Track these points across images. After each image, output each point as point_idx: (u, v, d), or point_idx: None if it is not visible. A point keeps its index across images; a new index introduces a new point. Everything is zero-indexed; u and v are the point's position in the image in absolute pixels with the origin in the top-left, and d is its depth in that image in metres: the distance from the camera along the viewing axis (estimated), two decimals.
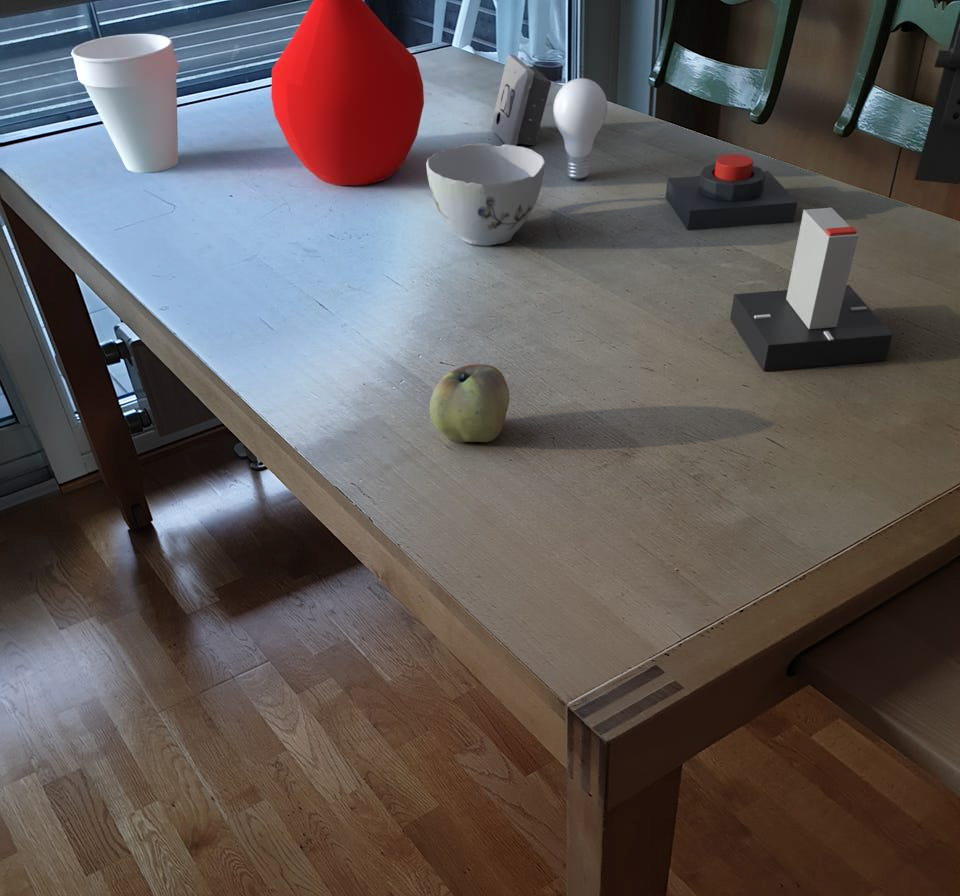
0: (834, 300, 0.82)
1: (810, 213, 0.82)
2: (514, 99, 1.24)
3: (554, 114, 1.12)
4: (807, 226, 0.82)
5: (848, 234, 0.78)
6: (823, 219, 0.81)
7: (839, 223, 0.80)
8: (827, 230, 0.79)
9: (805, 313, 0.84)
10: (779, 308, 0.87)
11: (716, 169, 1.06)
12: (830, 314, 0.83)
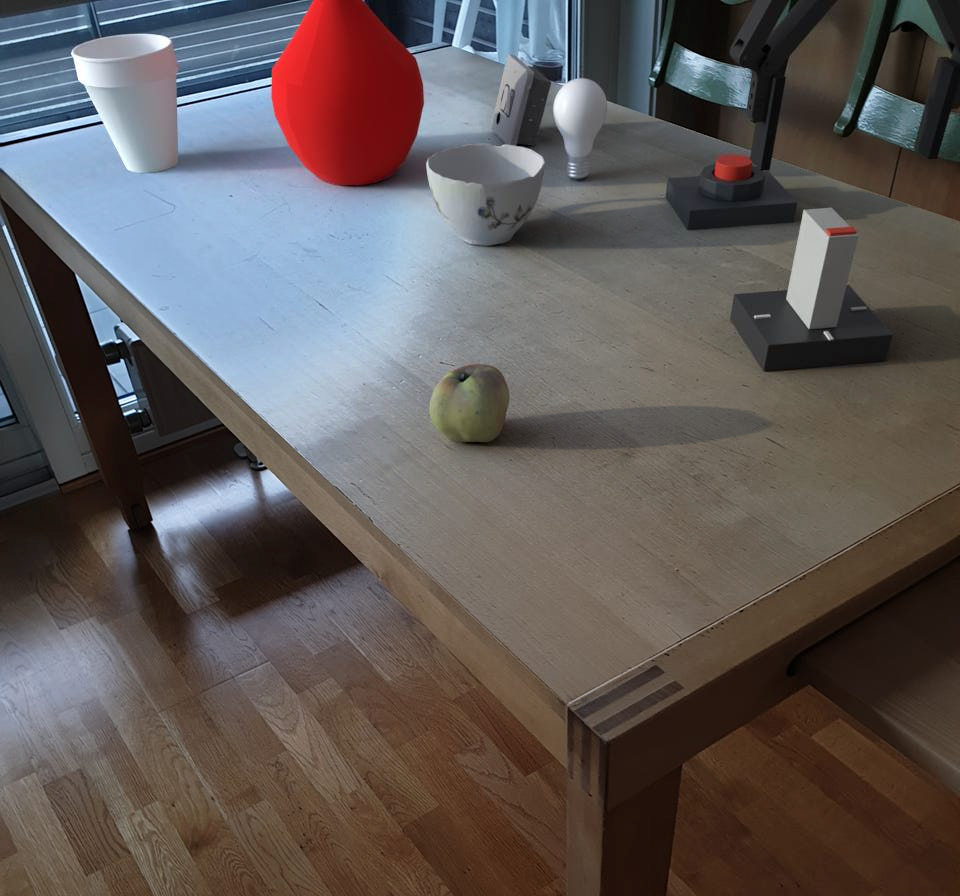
0: (834, 300, 0.82)
1: (810, 213, 0.82)
2: (514, 99, 1.24)
3: (554, 114, 1.12)
4: (807, 226, 0.82)
5: (848, 234, 0.78)
6: (823, 219, 0.81)
7: (839, 223, 0.80)
8: (827, 230, 0.79)
9: (805, 313, 0.84)
10: (779, 308, 0.87)
11: (716, 169, 1.06)
12: (830, 314, 0.83)
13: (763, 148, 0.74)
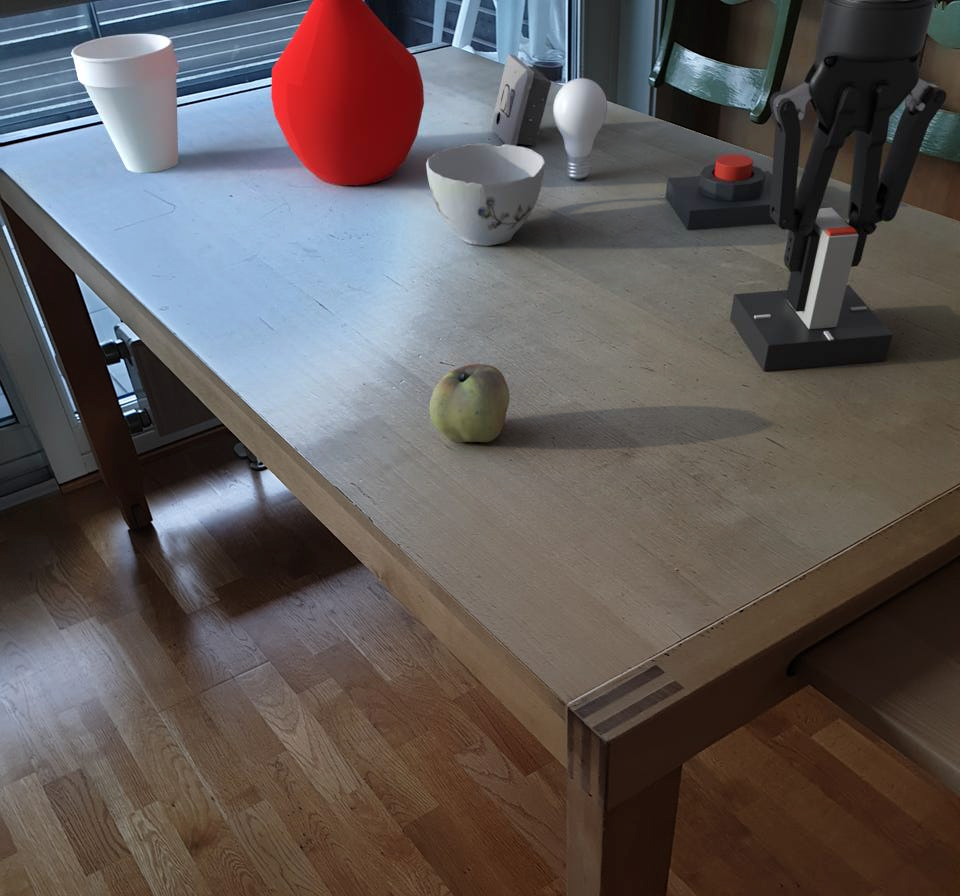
0: (834, 300, 0.82)
1: None
2: (514, 99, 1.24)
3: (554, 114, 1.12)
4: None
5: (848, 234, 0.78)
6: (823, 219, 0.81)
7: (839, 223, 0.80)
8: (827, 230, 0.79)
9: (805, 313, 0.84)
10: (779, 308, 0.87)
11: (716, 169, 1.06)
12: (830, 314, 0.83)
13: (798, 293, 0.83)
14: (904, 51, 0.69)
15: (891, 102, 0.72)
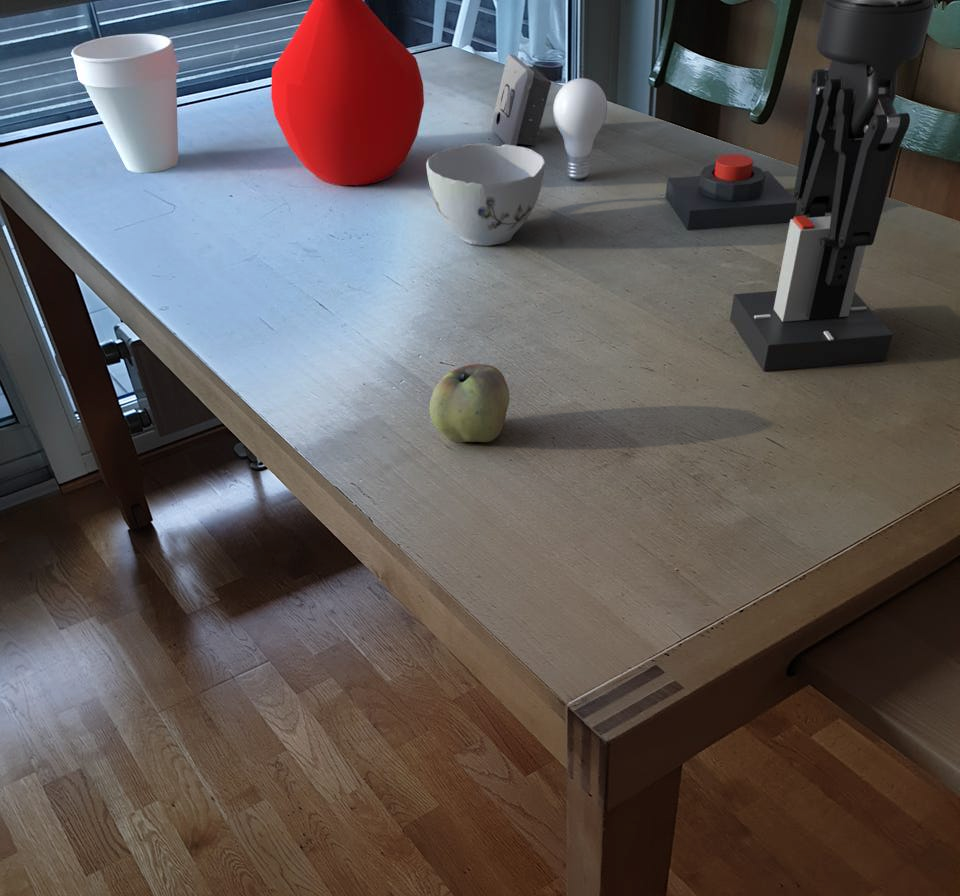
0: (784, 290, 0.84)
1: None
2: (514, 99, 1.24)
3: (554, 114, 1.12)
4: None
5: (800, 226, 0.80)
6: None
7: (827, 224, 0.80)
8: (801, 216, 0.81)
9: None
10: None
11: (716, 169, 1.06)
12: (781, 304, 0.85)
13: None
14: (827, 50, 0.70)
15: (842, 108, 0.72)
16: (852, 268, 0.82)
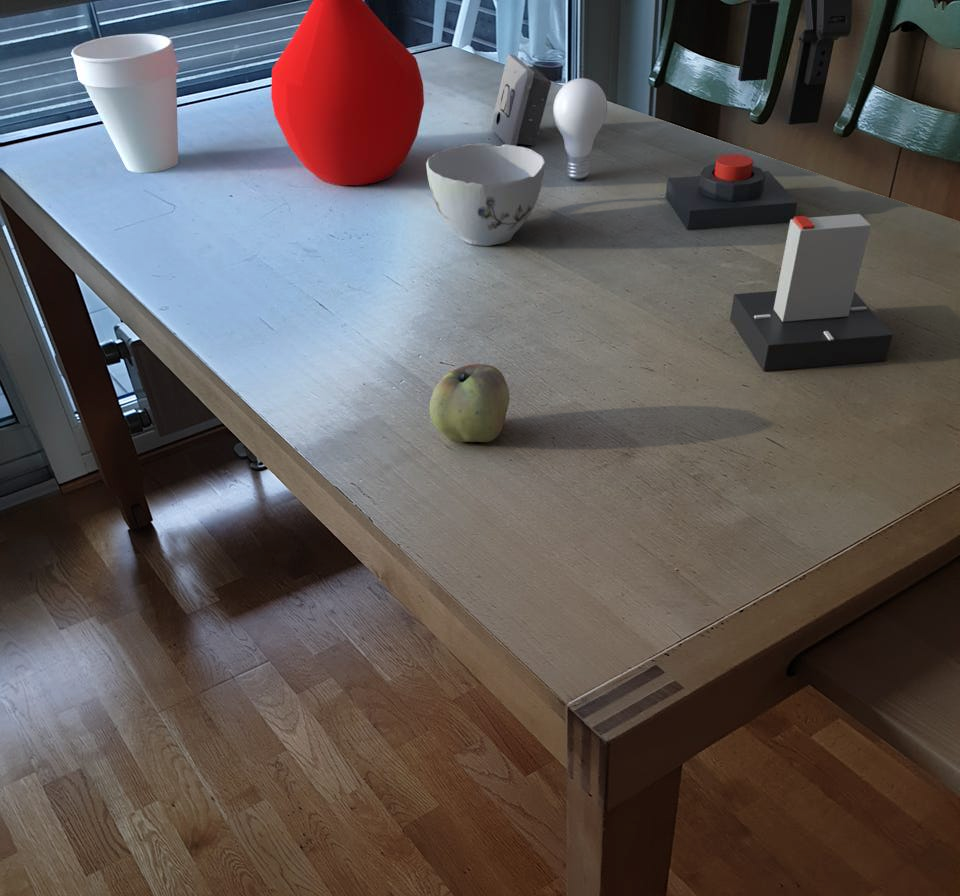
0: (784, 290, 0.84)
1: (849, 215, 0.81)
2: (514, 99, 1.24)
3: (554, 114, 1.12)
4: None
5: (800, 226, 0.80)
6: (837, 219, 0.81)
7: (827, 224, 0.80)
8: (801, 216, 0.81)
9: None
10: None
11: (716, 169, 1.06)
12: (781, 304, 0.85)
13: (742, 60, 0.95)
14: None
15: None
16: (852, 268, 0.82)
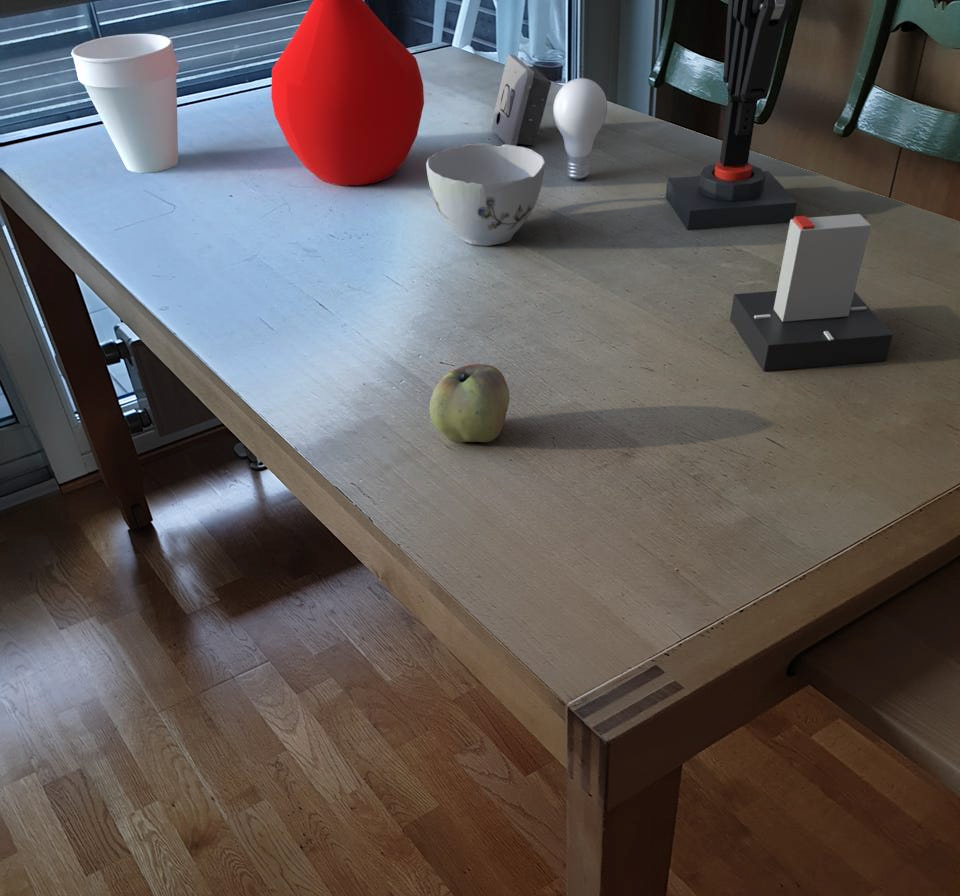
0: (784, 290, 0.84)
1: (849, 215, 0.81)
2: (514, 99, 1.24)
3: (554, 114, 1.12)
4: None
5: (800, 226, 0.80)
6: (837, 219, 0.81)
7: (827, 224, 0.80)
8: (801, 216, 0.81)
9: None
10: None
11: (715, 174, 1.07)
12: (781, 304, 0.85)
13: (723, 146, 1.06)
14: None
15: None
16: (852, 268, 0.82)
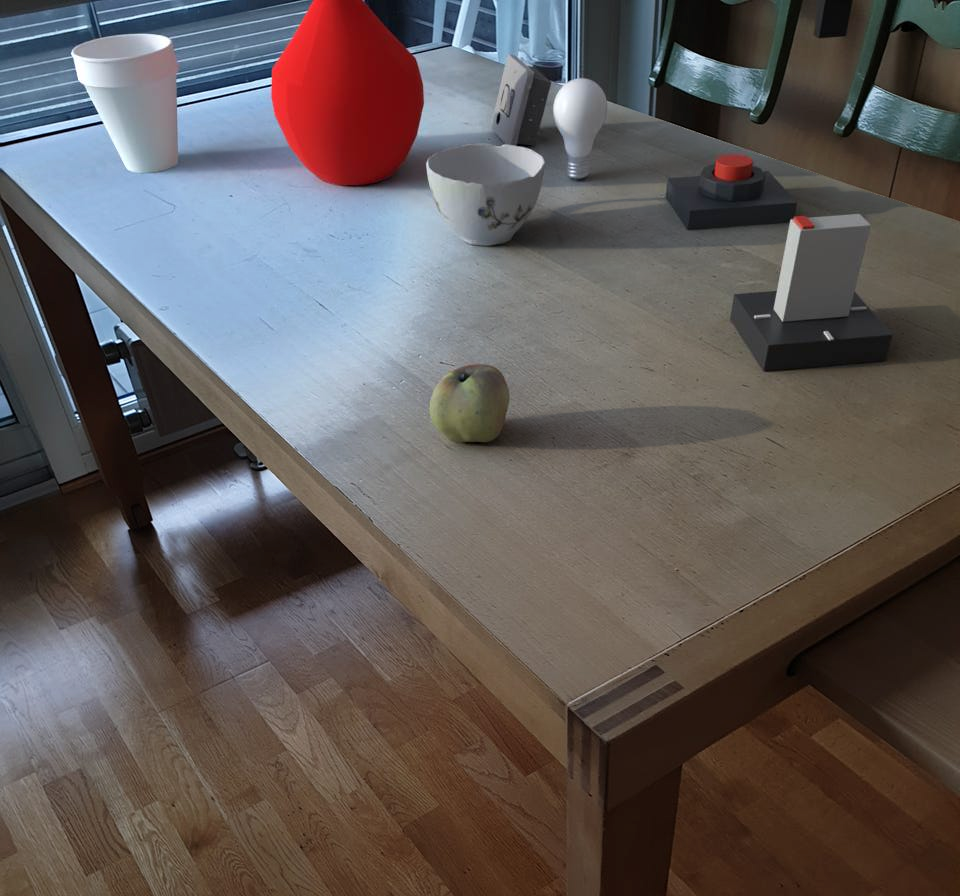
0: (784, 290, 0.84)
1: (849, 215, 0.81)
2: (514, 99, 1.24)
3: (554, 114, 1.12)
4: None
5: (800, 226, 0.80)
6: (837, 219, 0.81)
7: (827, 224, 0.80)
8: (801, 216, 0.81)
9: None
10: None
11: (716, 169, 1.06)
12: (781, 304, 0.85)
13: (818, 15, 0.93)
14: None
15: None
16: (852, 268, 0.82)
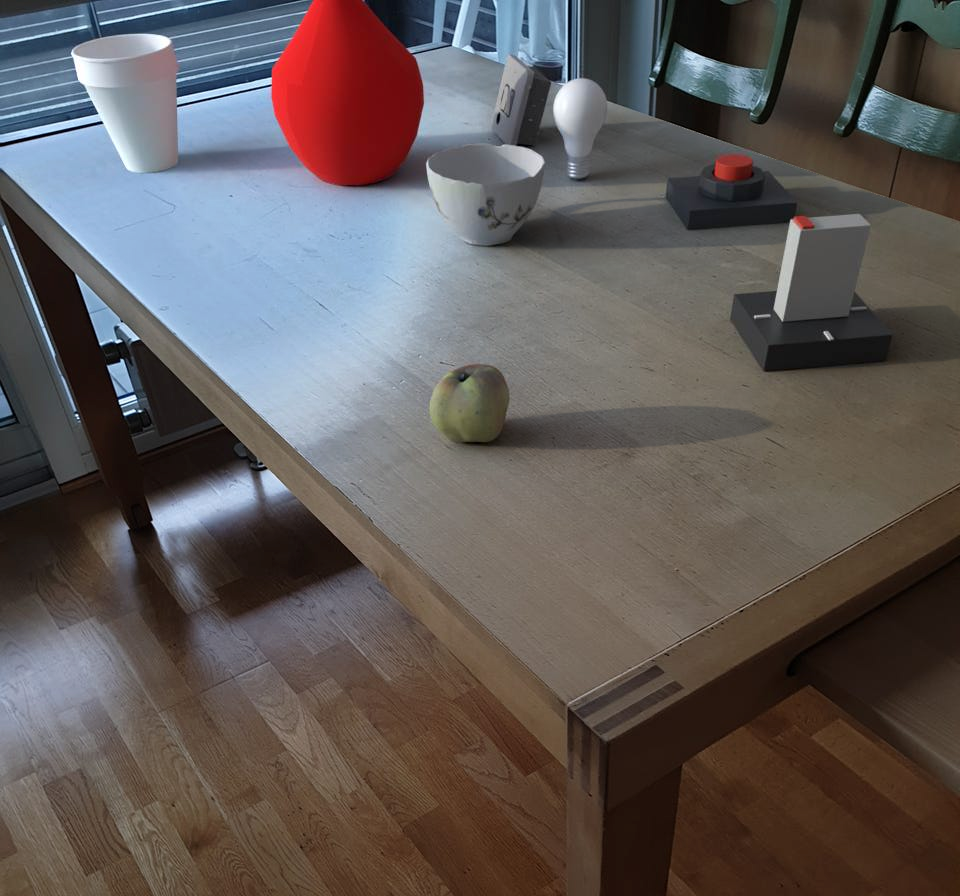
0: (784, 290, 0.84)
1: (849, 215, 0.81)
2: (514, 99, 1.24)
3: (554, 114, 1.12)
4: None
5: (800, 226, 0.80)
6: (837, 219, 0.81)
7: (827, 224, 0.80)
8: (801, 216, 0.81)
9: None
10: None
11: (716, 169, 1.06)
12: (781, 304, 0.85)
13: None
14: None
15: None
16: (852, 268, 0.82)
